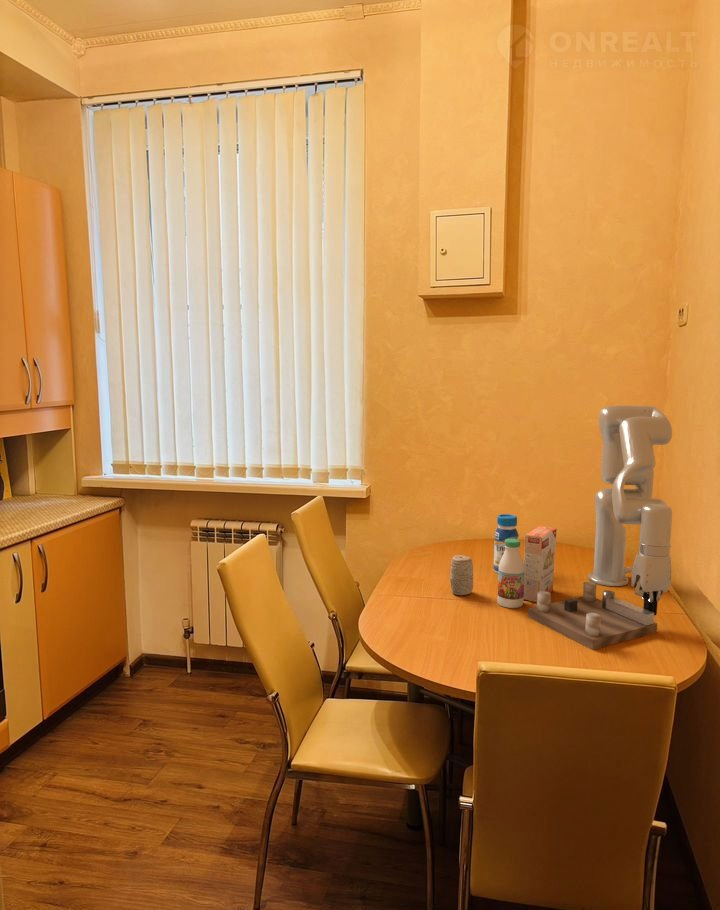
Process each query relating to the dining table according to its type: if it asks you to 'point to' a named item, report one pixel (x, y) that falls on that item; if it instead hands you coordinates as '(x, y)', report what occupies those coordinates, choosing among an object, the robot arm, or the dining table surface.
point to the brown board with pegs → (587, 619)
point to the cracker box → (539, 561)
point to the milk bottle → (511, 576)
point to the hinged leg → (626, 609)
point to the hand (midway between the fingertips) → (649, 613)
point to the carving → (461, 575)
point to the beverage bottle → (503, 536)
